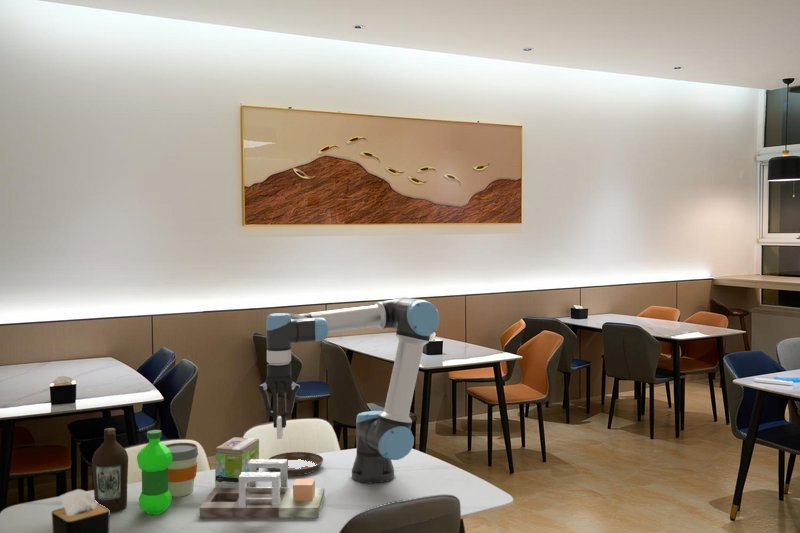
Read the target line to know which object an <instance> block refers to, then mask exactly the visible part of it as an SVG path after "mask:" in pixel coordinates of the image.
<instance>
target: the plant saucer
mask: <svg viewBox="0 0 800 533" xmlns="http://www.w3.org/2000/svg"><path fill="white" fill-rule="evenodd" d="M268 459H287V461H288V460H298V459H301V460H304V461H305V460H306V461H307V462H308V461H310V462H311V461H312V463H313V462H314V463H315V465H316V464H317V465H316V466H313V467H308V466H305V467H301V469H300V468H299V469H295V468H288V476H299V475H298V474H302V475H306V474H305V473H307V474H310V473H309V472H311V473H313V472H315V471H316V470H318V469H319V468H320V467H321V465H322V464H323V462H324V457H323V456H321V455H320V454H318V453H313V452H306V451H291V452H283V453H279V454H278V453H277V454H276V455H273V456H270V457H269V458H268ZM288 467H289V466H288ZM269 469H270V470H271V471H272V472H280V468H269ZM312 471H313V472H312Z"/></svg>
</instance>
